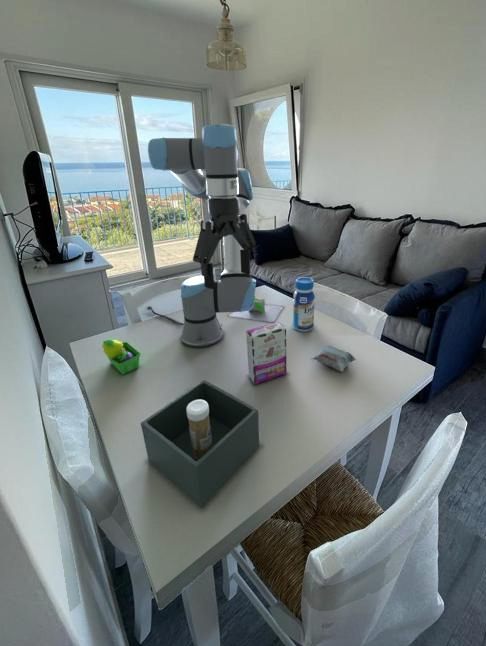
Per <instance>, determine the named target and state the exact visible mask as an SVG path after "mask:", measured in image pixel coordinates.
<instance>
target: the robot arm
mask: <svg viewBox="0 0 486 646" xmlns="http://www.w3.org/2000/svg"><path fill="white" fill-rule="evenodd" d="M201 131H202V137H158V138H151V139H150V140H149V142H148V144H147V155H148V160H149V163H150V165H151V167H152V168H153V169H154V170H155V171H163V172H166V171H169V172H170V173H171V174H172V175H173V176H174V177H175V178H176V179H177V180H178V181H179V182H180V183H181V186H182V188H183V189H184V191H185V192H187V194H189V195H190V196H193V197H195V198H197V199H200V200H203V201H207V209H208V213H209V215H210V220H201V221H200V227H199V228H200V229H199V234H198V238H197V242H196V245H195V248H194V249H195V250H194V253H193V257H192V261H193V262H194V263H198V264H200V272H201V275H197V276H193V277H190V278H188V279H186V280H184V281H183V282H182V284H181V285H180V298H181V305H182V312H183V319H184V320H183V322H180V321H177V320H175V319H173V318H171V317H169V316H166V315H163V314H161V313H158V312H155V311H154V309H153V308H152V306H151V305H150V306H148V307H147V309H148V310H149V309H150V311H151V312H152V313H153V314H154V315H156V316H159V317H162V318H165V319H167V320H170V321H171V322H173V323H176V324H178V325H181V326H182V331H181V334H180V335H181V337H180V338H181V342H182V343H183V344H184V345H186V346H188V347H192V348H206V347H209V346H212V345H215V344H216V343H218V342H219V341H221V339H222V338H223V337H224V336H223V335H224V333H223V328H222V327H223V323H221V324H220V321H219V319H218V317H217V313H232V312H243V311H251V310H252V309H253V307H254V297H255V298H256V287H257V286H256V285H257V279H256V278H253V274H252V273H251V260H252V259H251V251H254V248H255V247H256V244H257V243H256V241H255V238H254V236H253V233H252V229H251V228H250V225H249V222H248V217H247V214H246V213H247V212H246V211H247V210H246V209H247V208H248V207H249V206H250V202H251V201H252V200H254V194H253V193H254V192H253V187H252V186H253V185H252V179H251V175H250V172H249V170H248V169H247V168H243V167H242V168H239V167H238V160H239V148H238V138H237V130H236V127H235V126H234V125H232V124H227V123H224V124H223V123H212V124H206V125H203V127H202V130H201ZM221 240H223V242H222V243H223V272H221V274H220V275H219V280H215V277H214V267H213V266H214V265H213V262H211V261H212V259H213V256H214V254H215V251H216V249H217V247H218V245H219V243H220V241H221Z"/></svg>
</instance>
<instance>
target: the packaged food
mask: <svg viewBox="0 0 486 646" xmlns="http://www.w3.org/2000/svg"><path fill="white" fill-rule="evenodd" d="M310 359H311V360H314V361H317V363H321V364H322V365H326V366H329V367H330V368H331V369H335V370H337V371H339V372H344V370H345V368H346V367H348V365H349V364H351V363H352V362H355V361H356V360H357V359H356V358H355V357H354V356H353V355H352V354H351V352H349V351H346V350H344V349H340V348H338V347H336V346H334V345H331V344H327V345H326V346H325V347H323V349H322V350H320V351H319V352H318V353H317V354H315V355H313V356H311V357H310Z"/></svg>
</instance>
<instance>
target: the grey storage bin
mask: <svg viewBox="0 0 486 646" xmlns="http://www.w3.org/2000/svg"><path fill="white" fill-rule="evenodd" d="M194 400H204V401H206V402H207V403H208V406H209V422H210V428H211V437H212V447H213V448H211V449H210V450H209V451H208V452H207V453H206V454H205V455H204V456H203V457H202V458H201V459H199V460H196V459H195V458H194V457H193V447H192V443H191V436H190V429H189V419H188V417H187V411H186V409H187V406H188V404H189V403H191V402H192V401H194ZM259 423H260V422H259V409H258V408H256V407H255V406H253V405H251V404H249V403H247V402H246V401H243V400H242V399H240V398H238V397H236V396H234V395H233V394H230V393H229V392H227V391H225V390H224V389H221V388H219V387H218V386H216V385H215V384H213V383H211V382H209V381H207V380H206V379H202V380H201V381H200V382H198V383H197V384H195V385H193V386H192V387H191V388H190V389H188V390H187V391H185V392H184V393H182V394H180V395H179V396H178V397H176V398H175V399H173V400H172V401H170V402H169V403H167V404H165V406H163V407H161V408H159V410H157V411H156V412H154V413H153V414H151V415H150V416H148V417H147V418H146V419H144V420H143V421H141V422H140V426H141V432H142V436H143V441H144V445H145V446H144V447H145V450H146V456H147V461H148V462H149V463H150V464H151V465H153V467H155V468H156V469H157V470H158V471H160V472H161V473H162V474H163V475H164V476H165V477H166V478H167V479H168V480H169V481H170V482H172V483H173V484H174V485H175V486H176V487H177V488H178V489H180V490H181V491H182V492H183V493H184V494H185V495H186V496H188V498H190V499H191V500H192V501H193V502H194V503H195V504H196V505H198V507H200V508H201V509H203V508H204V507H205V506H206V505H207V504H208V502H209V501H211V499H212V498H213V497H214V496H215V495H216V494H217V493H218V492H219V490H220V489H221V488H223V487H224V485H225V484H226V483H227V482H228V481H229V480H230V479H231V477H233V476H234V474H235V473H236V472H237V471H238V470H239V469H240V468H241V467H242V466H243V465H244V464H245V463H246V461H247V460H248V459H249V458H250V457H251V456H252V455H253V454H254V453H255V452H256V451H257V450H258V449H259V447H260V429H259V427H260V426H259V425H260V424H259Z"/></svg>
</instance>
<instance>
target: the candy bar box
mask: <svg viewBox="0 0 486 646" xmlns="http://www.w3.org/2000/svg"><path fill="white" fill-rule="evenodd" d="M245 336H246V351H247V367H248V368H247V369H248V377H249V379H250V380H251V381H252V383H253V384H254V385H259V384H261V383H265V382H267V381H269V380H270V381H271V380H273V379H276V378H279V377H281V376H284V375H287V328H286V327H285V326H284V325H283V324H282V323H281V322H279V321H277V322H272V323H270V324H266V325H263V326H259V327H254V328H251V329H247V330H246V331H245Z"/></svg>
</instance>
